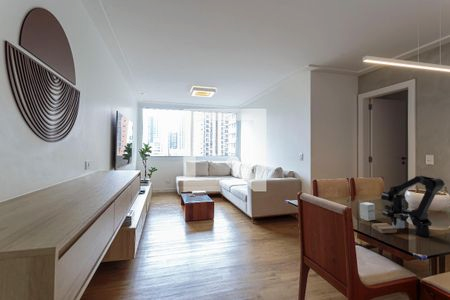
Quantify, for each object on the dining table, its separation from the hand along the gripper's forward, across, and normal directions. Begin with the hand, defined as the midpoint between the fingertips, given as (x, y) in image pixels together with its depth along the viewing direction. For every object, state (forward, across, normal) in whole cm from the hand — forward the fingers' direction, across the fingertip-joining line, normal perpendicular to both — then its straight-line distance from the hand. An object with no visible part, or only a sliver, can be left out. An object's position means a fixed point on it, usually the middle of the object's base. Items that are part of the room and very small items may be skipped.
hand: (398, 225), depth 160 cm
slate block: (+1, 0, 0) cm, 1 cm away
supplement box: (+2, +10, -19) cm, 22 cm away
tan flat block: (+1, +13, +4) cm, 14 cm away
